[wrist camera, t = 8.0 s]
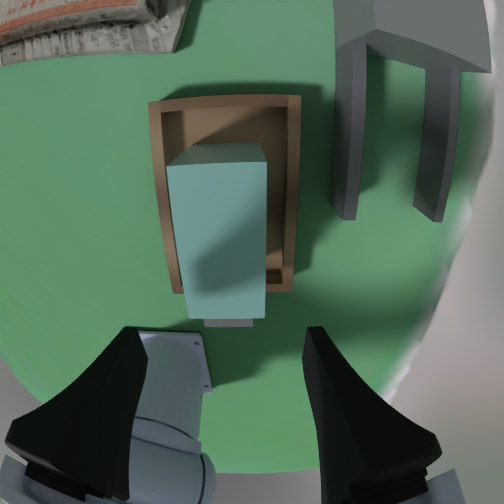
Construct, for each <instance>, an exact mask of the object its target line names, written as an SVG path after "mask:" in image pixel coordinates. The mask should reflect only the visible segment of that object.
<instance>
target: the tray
mask: <svg viewBox="0 0 504 504" xmlns="http://www.w3.org/2000/svg"><path fill="white" fill-rule="evenodd" d="M148 109H149V125H150V138H151V149H152V159H153V169H154V178H155V186H156V194H157V202H158V209H159V216H160V222H161V229H162V235H163V241H164V247H165V253H166V259H167V264H168V269H169V275H170V280H171V285H172V290H173V294H184V289H183V284H182V278H181V272H180V266H179V260H178V254H177V247H176V240H175V234H174V226H173V219H172V211H171V203H170V195H169V186H168V177H167V167H166V166H167V165H169V164H170V163H171V162H172V161H173V160H174V159H176V158H177V157H178V156H179V155H180V154H181V153H183V152H184V151H185V150H186V149H187V148H189V147H190V146H191V145H195V144H211V143H235V142H260V145H261V148H262V150H263V153H264V156H265V158H266V161H267V216H266V286H265V293H269V292H292V283H293V271H294V258H295V244H296V229H297V212H298V193H299V171H300V142H301V95H278V94H239V95H215V96H201V97H189V98H179V99H170V100H162V101H155V102H148Z"/></svg>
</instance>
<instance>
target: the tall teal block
mask: <svg viewBox="0 0 504 504" xmlns="http://www.w3.org/2000/svg"><path fill="white" fill-rule="evenodd" d="M166 167H167V177H168V186H169V195H170V203H171V211H172V219H173V226H174V234H175V240H176V247H177V254H178V260H179V266H180V272H181V278H182V284H183V289H184V295H185V300H186V305H187V310H188V315H189V319H204V325H205V327H253V318H265V286H266V216H267V161H266V158H265V156H264V153H263V150H262V148H261V145H260V142H235V143H211V144H195V145H191V146H190V147H189V148H187V149H186V150H185V151H184V152H183V153H181V154H180V155H179V156H178V157H177V158H176V159H174V160H173V161H172V162H171V163H170V164H169V165H167V166H166Z"/></svg>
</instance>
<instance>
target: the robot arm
mask: <svg viewBox="0 0 504 504" xmlns="http://www.w3.org/2000/svg"><path fill="white" fill-rule="evenodd" d="M196 341H197V342H196ZM302 363H303V371H304V379H305V383H306V388H307V392H308V396H309V400H310V404H311V408H312V412H313V416H314V420H315V426H316V431H317V440H318V449H319V460H320V473H321V499H322V500H321V502H322V504H466V503H465V500H464V497H463V493H462V490H461V486H460V483H459V480H458V477H457V474H456V471H455V469H452V470H450V471H447V472H446V473H443V474H441V475H439V476H436V477H434V478H432V479H430V480H428V481H426V480H425V476H426V475H427V474H428V473H427V470H426V467H427V466H429V465H430V464H432V463H433V462H434V461H436V460H437V459H438V458H439V457H440V456H441V455H442V450H441V447H440V444H439V442H438V440H437V438H436V436H435V434H434V433H431V432H430V431H428V430H426V429H424V428H423V427H421V426H419V425H417V424H415V423H414V422H412V421H411V420H409V419H408V418H406V417H405V416H403V415H402V414H400V413H399V412H398V411H397V410H395V409H394V408H393V407H391V406H390V405H389V404H388V403H386V402H385V401H384V400H383V399H382V398H381V397H380V396H379V395H377V394H376V393H375V392H374V391H373V390H372V389H371V388H370V387H369V386H368V385H367V384H366V383H365V382H364V381H363V379H362V378H361V377H360V376H359V375H358V374H357V373H356V372H355V370H354V369H353V368H352V367H351V366H350V364H349V363H348V362H347V360H346V359H345V358H344V357H343V355H342V354H341V353H340V351H339V350H338V349H337V347H336V346H335V344H334V343H333V341H332V340H331V339H330V337H329V336H328V334H327V332H326V331H325V329H324V328H323V327H322V326H316V327H307V332H306V338H305V344H304V350H303V356H302ZM211 392H212V385H211V380H210V375H209V370H208V366H207V361H206V355H205V350H204V345H203V340H202V336H201V335H200V334H199V333H180V332H154V331H138V329H137V328H134V327H124V328H123V329H122V330H120V332H119V334H118V335H117V336H116V337H115V338H114V339H113V340H112V341H111V343H110V344H109V345H108V346H107V347H106V348H105V350H104V351H103V352H102V353H101V354H100V355H99V356H98V357H97V358H96V360H95V361H94V362H93V363H92V364H91V365H90V366H89V367H88V368H87V369H86V370H85V371H84V372H83V373H82V374H81V375H80V376H79V377H78V378H77V379H76V380H75V381H74V382H72V383H71V384H70V385H69V386H68V387H67V388H65V389H64V390H63V391H62V392H60V393H59V394H58V395H56V396H55V397H53V398H52V399H51V400H49V401H48V402H46V403H45V404H43V405H42V406H40V407H38V408H37V409H35V410H33V411H31V412H30V413H28V414H25V415H23V416H21V417H19V418H17V419H15V420H13V421H12V424H11V426H10V428H9V431H8V433H7V436H6V439H5V444H6V445H7V446H8V447H9V448H10V449H11V450H13V451H14V452H15V453H17V454H18V455H19V456H20V457H22V458H23V459H25V460H26V461H27V462H28V464H27V466H25V465H24V464H22V463H20V462H18V461H16V460H15V459H13V458H11V457H9V456H8V455H5V457H4V460H3V463H2V466H1V470H0V499H2V500H3V501H4V502H6V503H7V504H212V502H213V499H214V495H215V489H216V472H215V467H214V465H213V463H212V461H211V460H210V458H209V456H208V455H207V454H205V453H203V452H201V442H200V441H197V440H198V437H199V430H200V419H201V408H202V398H203V393H211Z"/></svg>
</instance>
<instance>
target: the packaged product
mask: <svg viewBox="0 0 504 504" xmlns="http://www.w3.org/2000/svg"><path fill="white" fill-rule="evenodd" d="M191 1H192V0H0V67H1V66H4V65H8V64H14V63H20V62H27V61H34V60H39V59H47V58H56V57H69V56H82V55H99V54H164V53H175V50H176V48H177V45H178V42H179V39H180V36H181V33H182V30H183V26H184V23H185V19H186V16H187V13H188V9H189V6H190V3H191Z"/></svg>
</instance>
